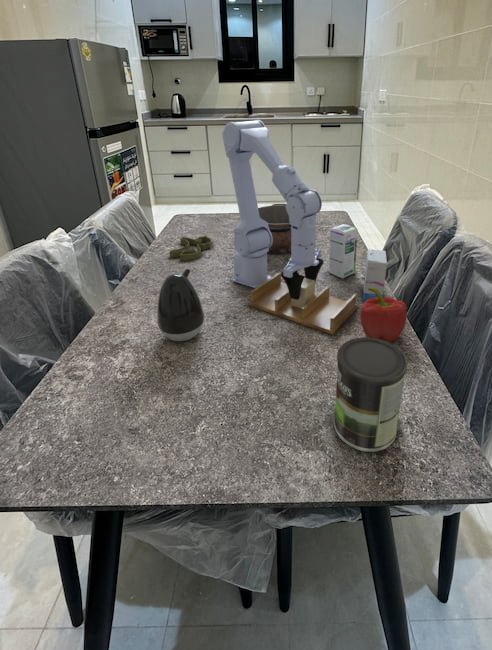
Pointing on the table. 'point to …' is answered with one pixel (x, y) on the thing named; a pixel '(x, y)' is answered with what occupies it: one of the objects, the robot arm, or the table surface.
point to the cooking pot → (277, 227)
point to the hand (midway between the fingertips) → (302, 291)
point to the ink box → (375, 273)
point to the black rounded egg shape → (179, 308)
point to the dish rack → (315, 314)
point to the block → (305, 293)
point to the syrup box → (342, 250)
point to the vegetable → (383, 317)
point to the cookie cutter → (189, 253)
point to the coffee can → (368, 393)
